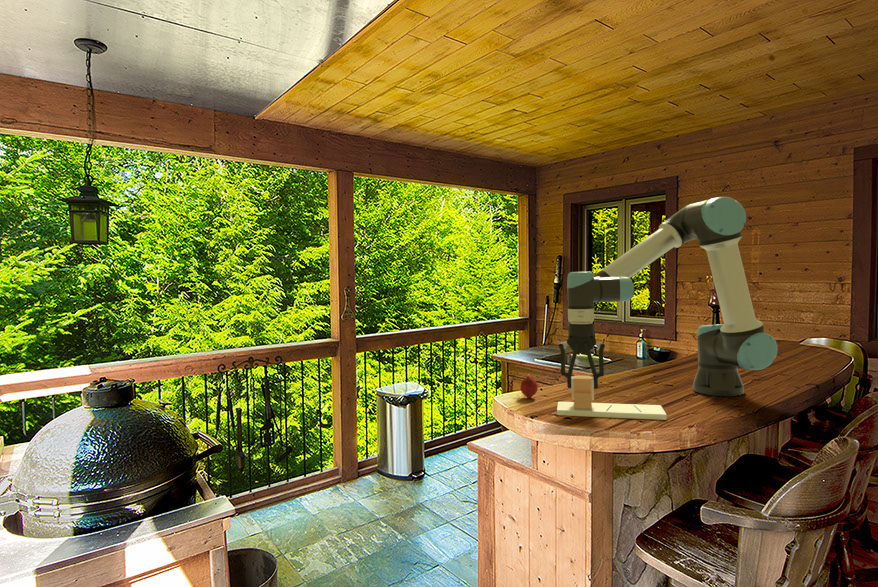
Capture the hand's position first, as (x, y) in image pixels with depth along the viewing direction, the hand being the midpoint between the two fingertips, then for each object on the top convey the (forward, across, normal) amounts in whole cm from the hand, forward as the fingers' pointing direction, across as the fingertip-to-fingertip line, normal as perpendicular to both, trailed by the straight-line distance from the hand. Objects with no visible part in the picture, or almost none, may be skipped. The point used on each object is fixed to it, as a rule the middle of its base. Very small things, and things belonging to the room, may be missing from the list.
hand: (582, 398), depth 148 cm
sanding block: (+2, 0, 0) cm, 2 cm away
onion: (+4, -18, +14) cm, 23 cm away
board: (+4, +8, 0) cm, 8 cm away
